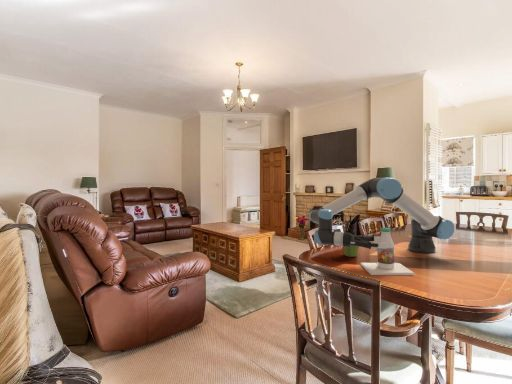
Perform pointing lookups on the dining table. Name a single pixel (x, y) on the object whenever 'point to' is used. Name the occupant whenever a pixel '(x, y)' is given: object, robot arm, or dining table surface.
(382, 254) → the milk bottle
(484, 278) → the dining table surface
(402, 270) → the placemat
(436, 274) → the dining table surface
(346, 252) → the plant pot
